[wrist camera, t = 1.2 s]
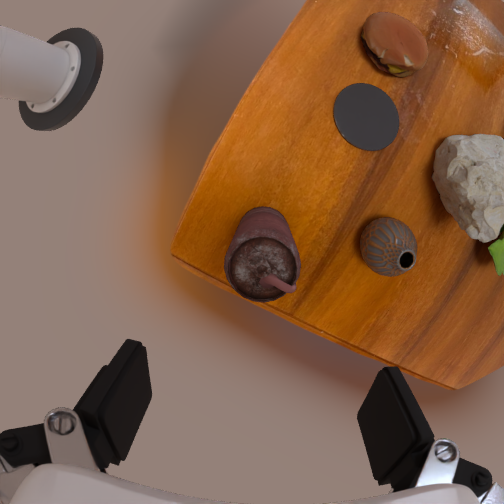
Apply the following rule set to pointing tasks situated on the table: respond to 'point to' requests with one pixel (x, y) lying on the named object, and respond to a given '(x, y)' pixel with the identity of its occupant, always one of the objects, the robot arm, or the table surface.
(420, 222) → the table surface
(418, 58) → the burger
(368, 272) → the table surface
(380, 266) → the vase
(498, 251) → the potted flower
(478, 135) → the stone
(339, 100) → the coaster
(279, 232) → the can
